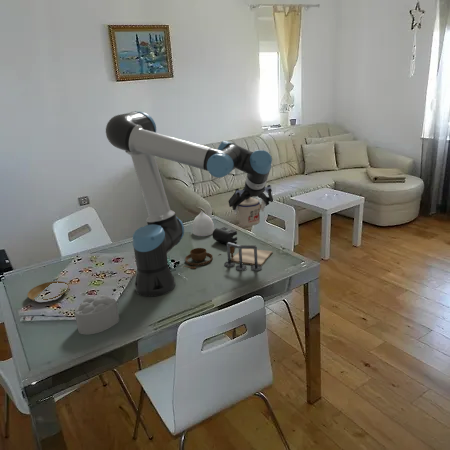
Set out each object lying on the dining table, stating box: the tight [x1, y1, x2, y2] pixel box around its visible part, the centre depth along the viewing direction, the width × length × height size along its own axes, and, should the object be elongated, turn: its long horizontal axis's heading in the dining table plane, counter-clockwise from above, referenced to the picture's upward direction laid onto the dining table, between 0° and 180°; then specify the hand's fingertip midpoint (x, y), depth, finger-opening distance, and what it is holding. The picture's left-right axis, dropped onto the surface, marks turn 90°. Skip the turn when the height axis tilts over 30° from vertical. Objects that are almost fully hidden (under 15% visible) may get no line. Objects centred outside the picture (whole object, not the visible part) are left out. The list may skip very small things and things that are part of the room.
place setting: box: [183, 246, 236, 270], centre depth 178 cm, size 18×20×6 cm
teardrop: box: [192, 210, 215, 237], centre depth 211 cm, size 11×11×12 cm
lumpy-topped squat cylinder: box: [74, 294, 120, 335], centre depth 137 cm, size 10×13×9 cm
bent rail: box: [223, 242, 263, 272], centre depth 169 cm, size 6×16×10 cm, turn 64°
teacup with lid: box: [237, 197, 261, 227], centre depth 170 cm, size 12×9×12 cm
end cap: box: [212, 226, 238, 245], centre depth 196 cm, size 10×7×7 cm
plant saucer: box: [26, 280, 70, 302], centre depth 159 cm, size 15×15×3 cm
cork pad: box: [231, 248, 273, 267], centre depth 180 cm, size 14×14×1 cm
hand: (248, 210), depth 173 cm, fingers closed on teacup with lid, 11 cm apart
